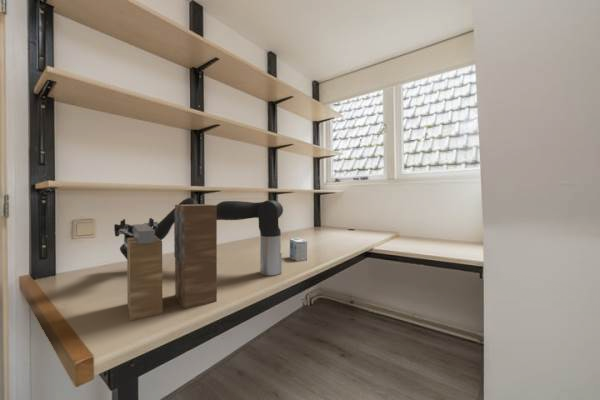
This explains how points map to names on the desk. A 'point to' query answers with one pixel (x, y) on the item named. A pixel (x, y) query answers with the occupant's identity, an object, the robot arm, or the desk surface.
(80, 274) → the desk surface
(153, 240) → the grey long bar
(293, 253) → the light bulb box
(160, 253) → the oak step
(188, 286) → the tall brown wooden block
